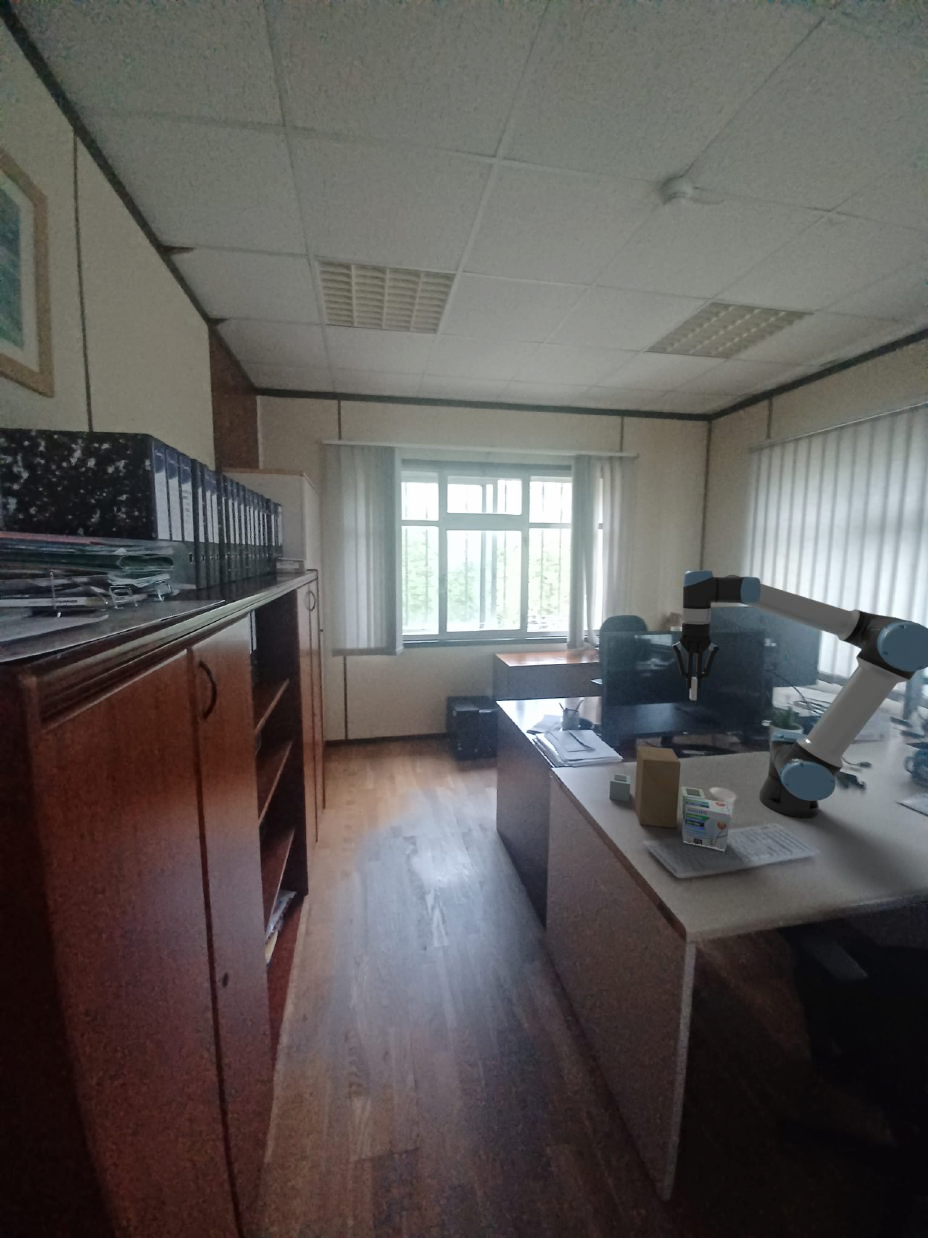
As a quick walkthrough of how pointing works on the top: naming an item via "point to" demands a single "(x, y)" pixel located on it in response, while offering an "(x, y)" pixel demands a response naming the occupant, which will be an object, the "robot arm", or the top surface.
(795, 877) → the top surface
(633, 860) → the top surface
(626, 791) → the slate cube
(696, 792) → the sage cube
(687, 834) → the light bulb box
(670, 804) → the wooden block
